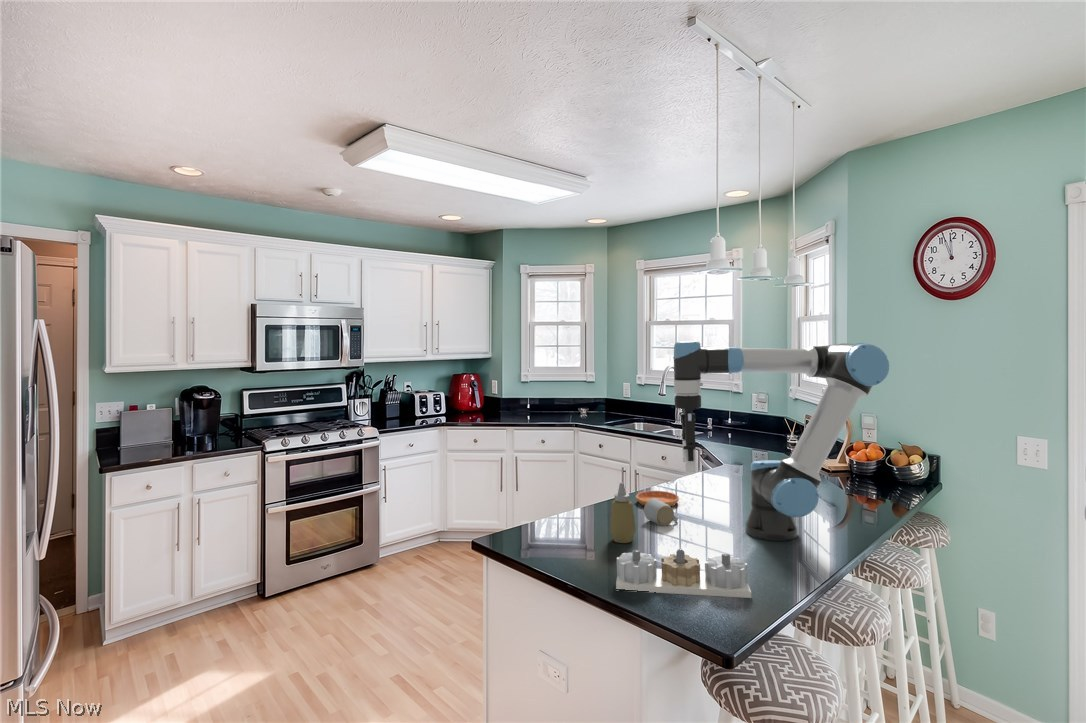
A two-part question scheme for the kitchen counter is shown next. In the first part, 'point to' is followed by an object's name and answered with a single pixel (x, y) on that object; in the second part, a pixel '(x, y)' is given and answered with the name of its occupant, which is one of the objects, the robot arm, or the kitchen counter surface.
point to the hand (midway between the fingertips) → (689, 466)
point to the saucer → (657, 497)
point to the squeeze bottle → (622, 517)
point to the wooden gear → (680, 571)
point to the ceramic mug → (659, 512)
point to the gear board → (716, 580)
